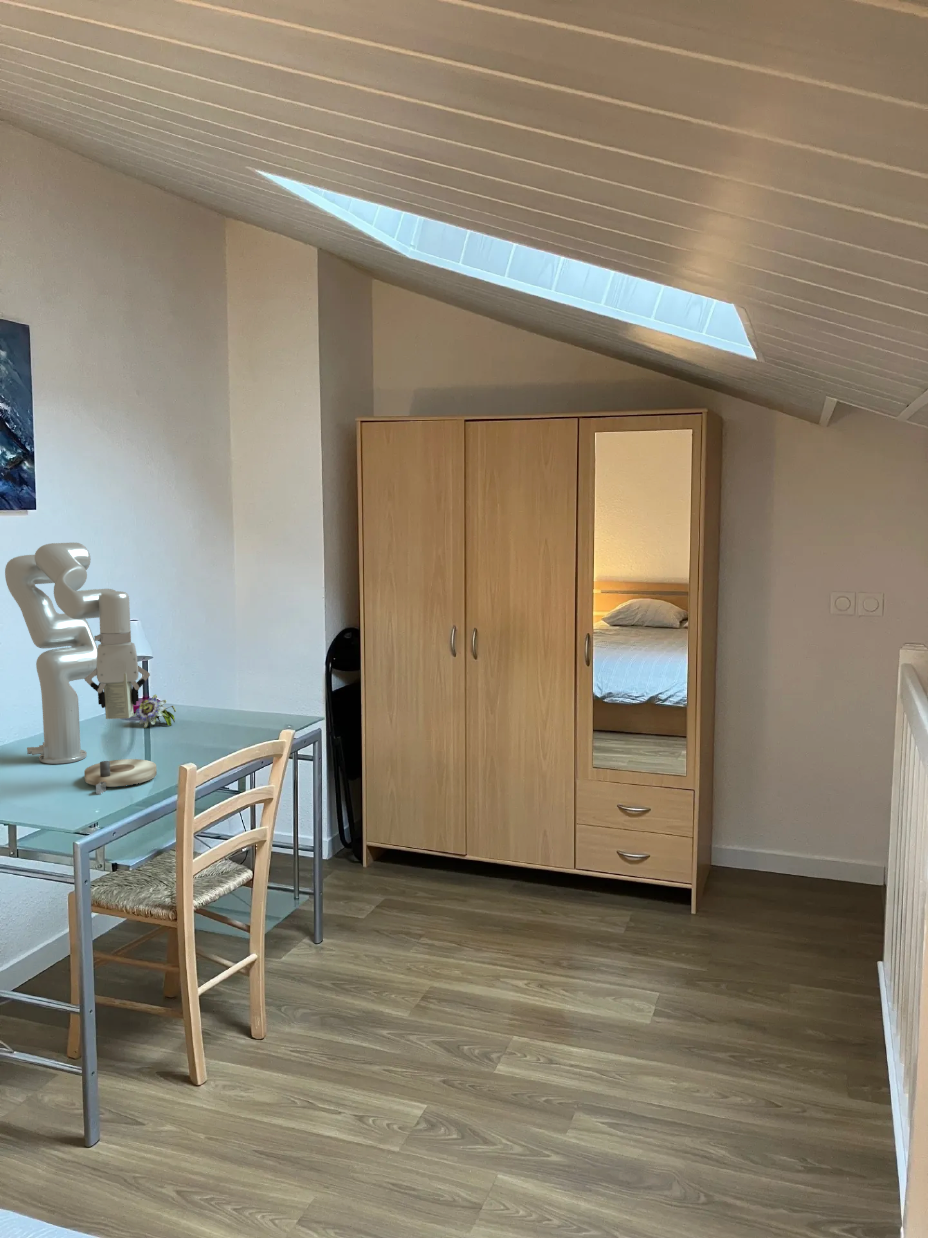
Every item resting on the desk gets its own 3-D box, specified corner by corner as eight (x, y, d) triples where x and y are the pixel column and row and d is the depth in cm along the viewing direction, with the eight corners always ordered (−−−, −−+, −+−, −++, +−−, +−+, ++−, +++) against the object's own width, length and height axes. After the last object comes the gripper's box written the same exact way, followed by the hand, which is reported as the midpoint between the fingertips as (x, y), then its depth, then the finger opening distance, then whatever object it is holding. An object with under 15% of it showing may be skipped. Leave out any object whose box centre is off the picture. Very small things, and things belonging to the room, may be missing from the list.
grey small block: (102, 790, 251) (102, 781, 251) (107, 790, 251) (106, 781, 251) (96, 794, 248) (95, 785, 248) (100, 794, 248) (100, 785, 247)
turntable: (70, 783, 254) (69, 761, 253) (110, 765, 271) (109, 744, 271) (132, 788, 250) (131, 766, 249) (169, 769, 267) (168, 748, 266)
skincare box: (134, 715, 261) (132, 670, 260) (129, 719, 257) (127, 672, 255) (109, 715, 261) (107, 670, 259) (104, 719, 257) (102, 673, 255)
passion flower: (147, 743, 318) (123, 715, 316) (161, 729, 329) (139, 701, 327) (171, 726, 315) (147, 697, 313) (185, 713, 325) (162, 684, 323)
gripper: (81, 643, 249) (84, 711, 251) (152, 638, 257) (155, 705, 259) (79, 639, 256) (82, 706, 258) (148, 635, 263) (151, 700, 266)
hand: (118, 705), depth 259 cm, fingers closed on skincare box, 7 cm apart
